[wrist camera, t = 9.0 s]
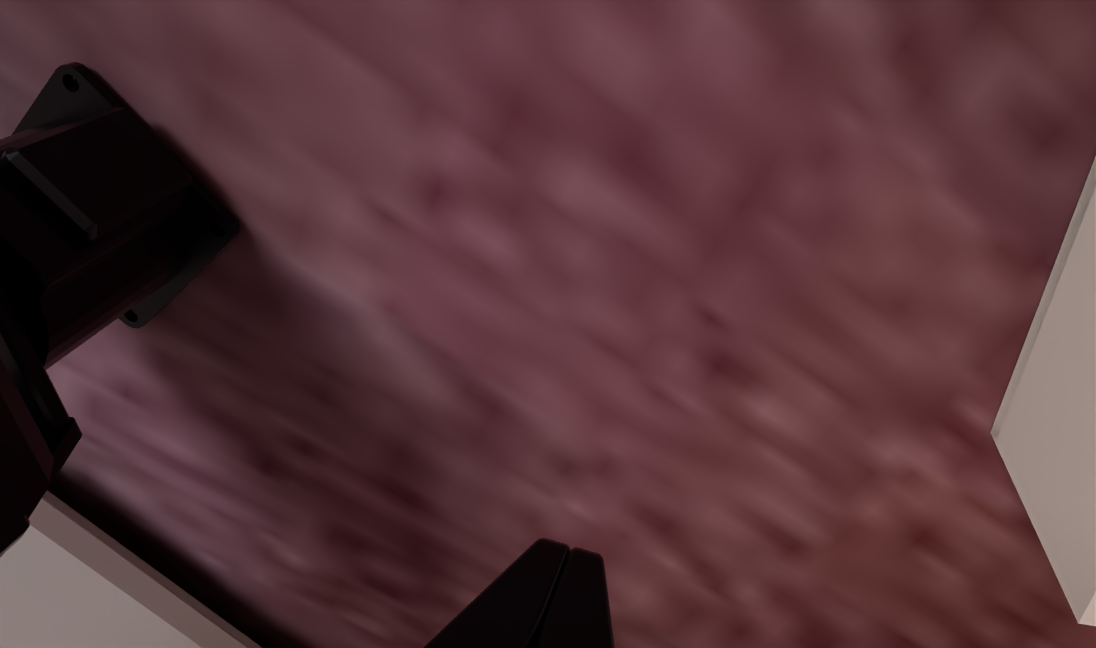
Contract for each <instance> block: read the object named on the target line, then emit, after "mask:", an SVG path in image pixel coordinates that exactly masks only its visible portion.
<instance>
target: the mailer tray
mask: <svg viewBox="0 0 1096 648" xmlns="http://www.w3.org/2000/svg"><path fill="white" fill-rule="evenodd" d="M990 433H991V435H992V437H993V439H994V442H995V444H996V446H997V448H998V450H999V453H1000V455H1001V457H1002V459H1003V461H1004V463H1005V466H1006V468H1007V470H1008V472H1009V474H1010V476H1011V479H1012V481H1013V483H1014V485H1015V487H1016V489H1017V492H1018V494H1019V496H1020V498H1021V500H1022V502H1023V505H1024V507H1025V509H1026V511H1027V513H1028V516H1029V518H1030V520H1031V522H1032V524H1033V526H1034V529H1035V531H1036V533H1037V535H1038V537H1039V539H1040V542H1041V544H1042V546H1043V548H1044V550H1045V552H1046V555H1047V557H1048V559H1049V561H1050V563H1051V566H1052V568H1053V570H1054V572H1055V574H1056V576H1057V579H1058V581H1059V583H1060V585H1061V587H1062V589H1063V592H1064V594H1065V596H1066V598H1067V600H1068V602H1069V605H1070V607H1071V609H1072V611H1073V613H1074V616H1075V618H1076V620H1077V622H1078V624H1085V625H1091V626H1096V157H1095V159H1094V162H1093V165H1092V167H1091V170H1090V172H1089V175H1088V178H1087V180H1086V183H1085V186H1084V188H1083V191H1082V193H1081V196H1080V199H1079V201H1078V204H1077V206H1076V209H1075V212H1074V214H1073V217H1072V220H1071V222H1070V225H1069V227H1068V230H1067V233H1066V235H1065V238H1064V241H1063V243H1062V246H1061V248H1060V251H1059V254H1058V256H1057V259H1056V262H1055V264H1054V267H1053V269H1052V272H1051V275H1050V277H1049V280H1048V283H1047V285H1046V288H1045V290H1044V293H1043V296H1042V298H1041V301H1040V304H1039V306H1038V309H1037V311H1036V314H1035V317H1034V319H1033V322H1032V325H1031V327H1030V330H1029V332H1028V335H1027V338H1026V340H1025V343H1024V345H1023V348H1022V351H1021V353H1020V356H1019V359H1018V361H1017V364H1016V366H1015V369H1014V372H1013V374H1012V377H1011V380H1010V382H1009V385H1008V387H1007V390H1006V393H1005V395H1004V398H1003V401H1002V403H1001V406H1000V408H999V411H998V414H997V416H996V419H995V422H994V424H993V427H992V429H991V432H990Z"/></svg>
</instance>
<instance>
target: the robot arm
mask: <svg viewBox="0 0 1096 648" xmlns="http://www.w3.org/2000/svg"><path fill="white" fill-rule="evenodd" d="M73 77H75V79H76V80H77V81H78V84H79V87H78V86H77V85H76V84H75V82H74V80H73ZM217 222H218V223H220V224H221V225H222V226H223V227H224V229H225V231H223V230H221V229H220V228H219V226H218V224H217ZM239 228H240V227H239V224H238V221H237V220H236V218H235V217H234V216H233V215H232V213H231V212H230V211H229V210H228V209H227V208H226V207H225V206H224V205H223V204H222V203H221V202H220V201H219V200H218V199H217V198H216V197H215V196H214V195H213V194H212V193H211V192H210V191H209V190H208V189H207V188H206V187H205V186H204V185H203V184H202V183H201V182H200V181H199V180H198V179H197V178H196V177H195V176H194V175H193V174H192V173H191V172H190V171H189V170H188V169H187V168H186V167H185V166H184V165H183V164H182V163H181V162H180V161H179V160H178V159H177V158H176V157H175V156H174V155H173V154H172V153H171V152H170V151H169V150H168V149H167V148H166V147H165V146H164V145H163V144H162V143H161V142H160V141H159V140H158V139H157V138H156V137H155V136H154V135H153V134H152V133H151V131H150V130H149V129H148V128H147V127H146V126H145V125H144V124H143V123H142V122H141V121H140V120H139V119H138V118H137V117H136V116H135V115H134V114H133V113H132V112H131V111H130V110H129V109H128V108H127V107H126V106H125V105H124V104H123V103H122V102H121V101H120V100H119V99H118V98H117V97H116V96H115V95H114V94H113V93H112V92H111V91H110V90H109V89H108V88H107V87H106V86H105V85H104V84H103V83H102V82H101V81H100V80H99V79H98V78H97V77H96V76H95V75H94V74H93V73H92V72H91V71H90V70H89V69H88V68H87V67H85V66H84V65H83V64H80V63H77V62H74V63H68V64H65V65H61V66H59V67H58V68H57V69H56V70H55V72H54V73H53V75H52V76H51V78H50V79H49V81H48V82H47V84H46V85H45V86H44V88H43V89H42V91H41V92H40V94H39V95H38V97H37V98H36V100H35V101H34V103H33V104H32V106H31V107H30V109H29V110H28V112H27V113H26V114H25V116H24V117H23V119H22V120H21V122H20V123H19V125H18V126H17V128H16V129H15V131H14V132H13V134H12V135H11V136H8V137H6V138H3V139H0V557H1V556H2V555H3V554H4V553H5V552H6V551H7V550H8V549H9V548H10V547H12V546H13V545H14V544H15V543H16V542H17V541H18V540H19V539H21V538H22V536H23V535H24V534H25V532H26V531H27V529H28V528H29V526H30V521H29V517H30V516H31V514H32V513H33V511H34V510H35V508H36V506H37V505H38V503H39V502H40V500H41V499H42V497H43V496H44V494H45V492H46V491H47V489H48V488H49V486H50V485H51V483H52V482H53V480H54V479H55V477H56V475H57V474H58V472H59V471H60V469H61V468H62V466H63V465H64V463H65V461H66V460H67V458H68V457H69V455H70V454H71V452H72V451H73V449H74V448H75V446H76V444H77V443H78V441H79V440H80V438H81V437H82V433H81V431H80V429H79V427H78V425H77V423H76V421H75V419H74V418H73V417H69V415H68V413H67V411H66V410H65V408H64V406H63V404H62V402H61V400H60V398H59V396H58V394H57V392H56V390H55V388H54V386H53V384H52V382H51V380H50V378H49V376H48V374H47V372H46V369H48V368H49V367H51V366H52V365H53V364H55V363H56V362H57V361H59V360H60V359H62V358H63V357H64V356H66V355H67V354H69V353H70V352H71V351H73V350H74V349H76V348H77V347H78V346H80V345H81V344H82V343H84V342H85V341H87V340H88V339H89V338H91V337H92V336H94V335H95V334H96V333H98V332H99V331H101V330H102V329H103V328H105V327H106V326H108V325H109V324H110V323H112V322H113V321H114V320H116V319H117V318H119V319H120V320H122V321H123V322H124V323H125V324H126V325H128V326H130V327H132V328H140V327H142V326H144V325H145V324H146V323H148V322H149V321H150V320H151V319H152V318H153V317H154V316H155V315H156V314H157V313H158V312H159V311H160V310H162V309H163V308H164V307H165V306H166V305H167V304H168V303H169V302H170V301H171V300H172V299H173V298H174V297H175V296H176V295H177V294H178V293H179V292H180V291H181V290H182V289H183V288H184V287H185V286H186V285H187V284H188V283H189V282H190V281H191V280H192V279H193V278H195V277H196V276H197V275H198V274H199V273H200V272H201V271H202V270H203V269H204V268H205V267H206V266H207V265H208V264H209V263H210V262H211V261H212V260H213V259H214V258H215V257H216V256H217V255H218V254H219V253H220V252H221V251H222V250H223V249H224V248H225V247H226V246H228V245H229V244H230V243H231V242H232V241H233V240H234V239H235V238H236V237H237V235H238V234H239ZM134 312H135V313H136V314H135V313H134ZM423 648H615V646H614V638H613V631H612V623H611V615H610V607H609V599H608V591H607V583H606V575H605V567H604V561H603V558H602V556H601V555H600V554H598V553H595V552H591V551H588V550H584V549H581V548H573V549H572V550H571V551H570V547H569V546H568V545H566V544H564V543H560V542H557V541H553V540H550V539H546V538H541V539H539V540H537V541H536V542H535V543H533V544H532V545H531V546H530V547H529V548H528V549H527V550H526V551H525V552H524V553H523V554H522V555H521V556H520V557H519V558H518V559H517V560H515V561H514V562H513V563H512V564H511V565H510V566H509V567H508V568H507V569H506V570H505V571H504V572H503V573H502V574H501V575H500V576H499V577H497V578H496V579H495V580H494V581H493V582H492V583H491V584H490V585H489V586H488V587H487V588H486V589H485V590H484V591H483V592H482V593H481V594H479V595H478V596H477V597H476V598H475V599H474V600H473V601H472V602H471V603H470V604H469V605H468V606H467V607H466V608H465V609H464V610H463V611H462V612H460V613H459V614H458V615H457V616H456V617H455V618H454V619H453V620H452V621H451V622H450V623H449V624H448V625H447V626H446V627H445V628H444V629H442V630H441V631H440V632H439V633H438V634H437V635H436V636H435V637H434V638H433V639H432V640H431V641H430V642H429V643H428V644H427V645H426V646H424V647H423Z"/></svg>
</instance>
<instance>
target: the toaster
mask: <svg viewBox="0 0 1096 648" xmlns="http://www.w3.org/2000/svg"><path fill="white" fill-rule="evenodd" d="M29 521H30V526H29V528H28V529H27V531H26V532H25V534H24V535H23V536H22V538H21V539H19V540H18V541H17V542H16V543H15V544H14V545H13V546H12V547H10V548H9V549H8V550H7V551H6V552H5V553H4V554H3V555H2V556H1V557H0V648H262V647H261V646H259V645H258V644H257V643H255V642H254V641H252V640H251V639H250V638H248V637H247V636H246V635H244V634H243V633H242V632H240V631H239V630H237V629H236V628H235V627H233V626H232V625H231V624H229V623H228V622H226V621H225V620H224V619H222V618H221V617H220V616H218V615H217V614H216V613H214V612H213V611H211V610H210V609H209V608H207V607H206V606H205V605H203V604H202V603H201V602H199V601H198V600H196V599H195V598H194V597H192V596H191V595H190V594H188V593H187V592H185V591H184V590H183V589H181V588H180V587H179V586H177V585H176V584H175V583H173V582H172V581H170V580H169V579H168V578H166V577H165V576H164V575H162V574H161V573H160V572H158V571H157V570H155V569H154V568H153V567H151V566H150V565H149V564H147V563H146V562H144V561H143V560H142V559H140V558H139V557H138V556H136V555H135V554H134V553H132V552H131V551H129V550H128V549H127V548H125V547H124V546H123V545H121V544H120V543H118V542H117V541H116V540H114V539H113V538H112V537H110V536H109V535H108V534H106V533H105V532H103V531H102V530H101V529H99V528H98V527H97V526H95V525H94V524H93V523H91V522H90V521H88V520H87V519H86V518H84V517H83V516H82V515H80V514H79V513H77V512H76V511H75V510H73V509H72V508H71V507H69V506H68V505H67V504H65V503H64V502H62V501H61V500H60V499H58V498H57V497H56V496H54V495H53V494H52V493H50V492H49V491H46V492H45V494H44V496H43V497H42V499H41V500H40V502H39V503H38V505H37V506H36V508H35V510H34V511H33V513H32V514H31V516H30V517H29Z"/></svg>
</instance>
